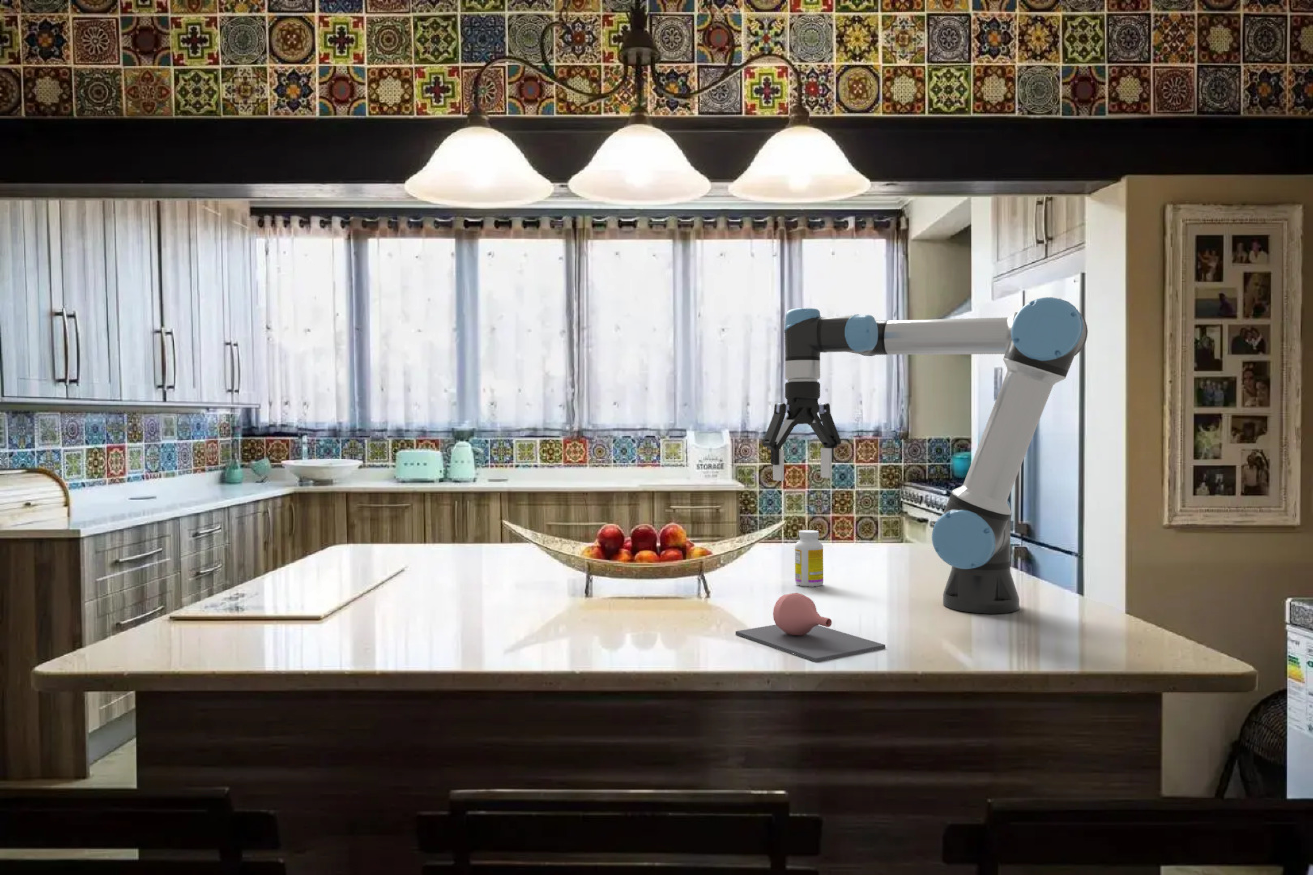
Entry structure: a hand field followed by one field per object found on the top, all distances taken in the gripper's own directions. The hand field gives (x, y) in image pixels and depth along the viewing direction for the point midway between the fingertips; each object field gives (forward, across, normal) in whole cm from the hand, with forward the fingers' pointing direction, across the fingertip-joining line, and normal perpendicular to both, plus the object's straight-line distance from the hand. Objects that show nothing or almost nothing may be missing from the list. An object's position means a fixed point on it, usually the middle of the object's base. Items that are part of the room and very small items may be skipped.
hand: (802, 479), depth 194 cm
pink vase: (+22, +22, +20) cm, 37 cm away
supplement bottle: (+27, -14, -14) cm, 33 cm away
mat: (+27, +22, +26) cm, 43 cm away
